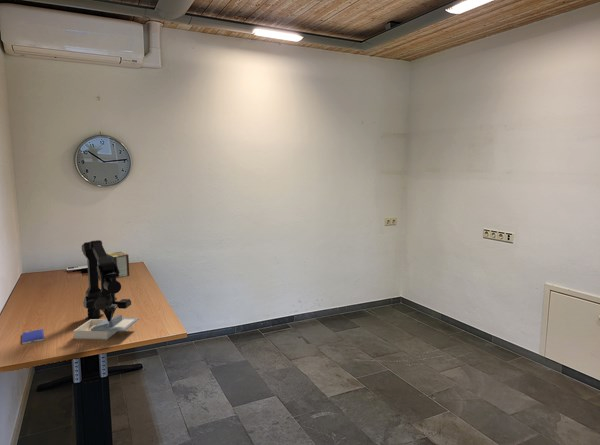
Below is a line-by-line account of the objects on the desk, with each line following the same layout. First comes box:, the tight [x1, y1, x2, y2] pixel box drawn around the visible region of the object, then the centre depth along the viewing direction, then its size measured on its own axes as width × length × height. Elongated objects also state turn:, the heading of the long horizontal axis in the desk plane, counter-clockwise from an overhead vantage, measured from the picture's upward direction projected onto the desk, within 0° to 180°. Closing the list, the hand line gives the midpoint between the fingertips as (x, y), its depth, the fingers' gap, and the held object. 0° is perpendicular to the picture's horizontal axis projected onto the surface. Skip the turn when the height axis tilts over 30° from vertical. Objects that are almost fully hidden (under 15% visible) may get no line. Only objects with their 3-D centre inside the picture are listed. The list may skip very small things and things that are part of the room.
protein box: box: [106, 251, 131, 279], centre depth 294 cm, size 10×15×16 cm
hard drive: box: [21, 328, 45, 345], centre depth 184 cm, size 2×8×12 cm
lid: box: [91, 314, 140, 332], centre depth 188 cm, size 14×15×3 cm
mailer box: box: [73, 318, 118, 341], centre depth 189 cm, size 14×15×4 cm
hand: (109, 321), depth 188 cm, fingers closed
